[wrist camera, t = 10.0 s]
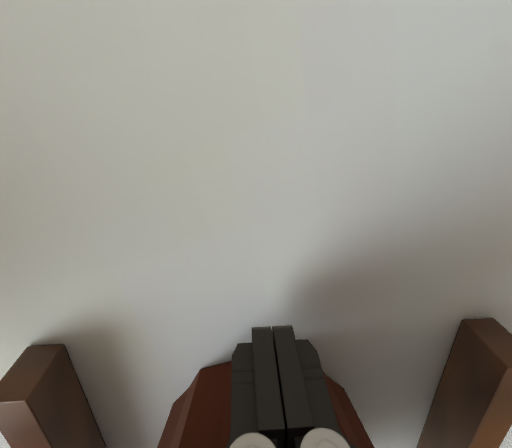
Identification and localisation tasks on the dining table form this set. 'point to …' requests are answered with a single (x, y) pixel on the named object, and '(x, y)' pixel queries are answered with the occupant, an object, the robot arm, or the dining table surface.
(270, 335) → the robot arm
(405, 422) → the dining table surface
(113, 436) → the dining table surface
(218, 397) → the muffin
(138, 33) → the dining table surface
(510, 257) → the dining table surface
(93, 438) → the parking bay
